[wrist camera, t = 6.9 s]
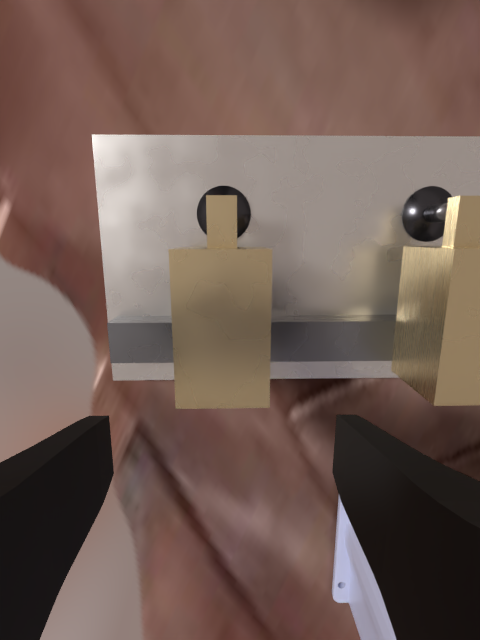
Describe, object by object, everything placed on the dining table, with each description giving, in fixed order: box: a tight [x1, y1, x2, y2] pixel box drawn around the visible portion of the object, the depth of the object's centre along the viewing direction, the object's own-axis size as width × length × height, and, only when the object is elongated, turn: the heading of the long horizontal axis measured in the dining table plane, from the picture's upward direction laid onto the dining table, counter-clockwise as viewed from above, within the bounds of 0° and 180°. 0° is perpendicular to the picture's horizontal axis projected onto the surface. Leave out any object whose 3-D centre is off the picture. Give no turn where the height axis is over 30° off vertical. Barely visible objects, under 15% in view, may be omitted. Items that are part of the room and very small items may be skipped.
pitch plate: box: [92, 135, 480, 406], centre depth 16 cm, size 12×20×7 cm, turn 90°
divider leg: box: [168, 195, 272, 409], centre depth 15 cm, size 8×4×5 cm, turn 0°
